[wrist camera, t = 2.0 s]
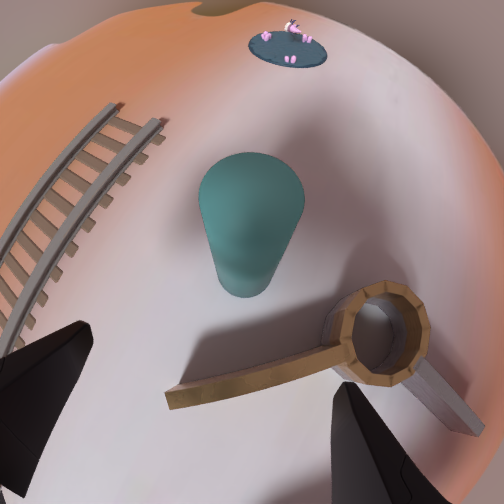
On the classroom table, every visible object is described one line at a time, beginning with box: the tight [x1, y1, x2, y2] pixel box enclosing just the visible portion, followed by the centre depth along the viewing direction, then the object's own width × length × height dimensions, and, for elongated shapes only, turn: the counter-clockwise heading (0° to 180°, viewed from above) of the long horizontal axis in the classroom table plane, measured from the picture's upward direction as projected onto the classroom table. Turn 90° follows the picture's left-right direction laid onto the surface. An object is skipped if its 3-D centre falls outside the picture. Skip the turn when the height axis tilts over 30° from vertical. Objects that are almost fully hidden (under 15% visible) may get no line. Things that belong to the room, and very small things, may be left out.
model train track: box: [0, 102, 166, 358], centre depth 23 cm, size 11×31×2 cm, turn 150°
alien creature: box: [248, 19, 327, 68], centre depth 32 cm, size 12×12×7 cm
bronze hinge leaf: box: [164, 280, 431, 410], centre depth 19 cm, size 17×12×4 cm
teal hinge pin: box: [199, 152, 305, 298], centre depth 17 cm, size 4×4×12 cm
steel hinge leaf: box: [321, 295, 485, 437], centre depth 18 cm, size 7×19×4 cm, turn 46°
